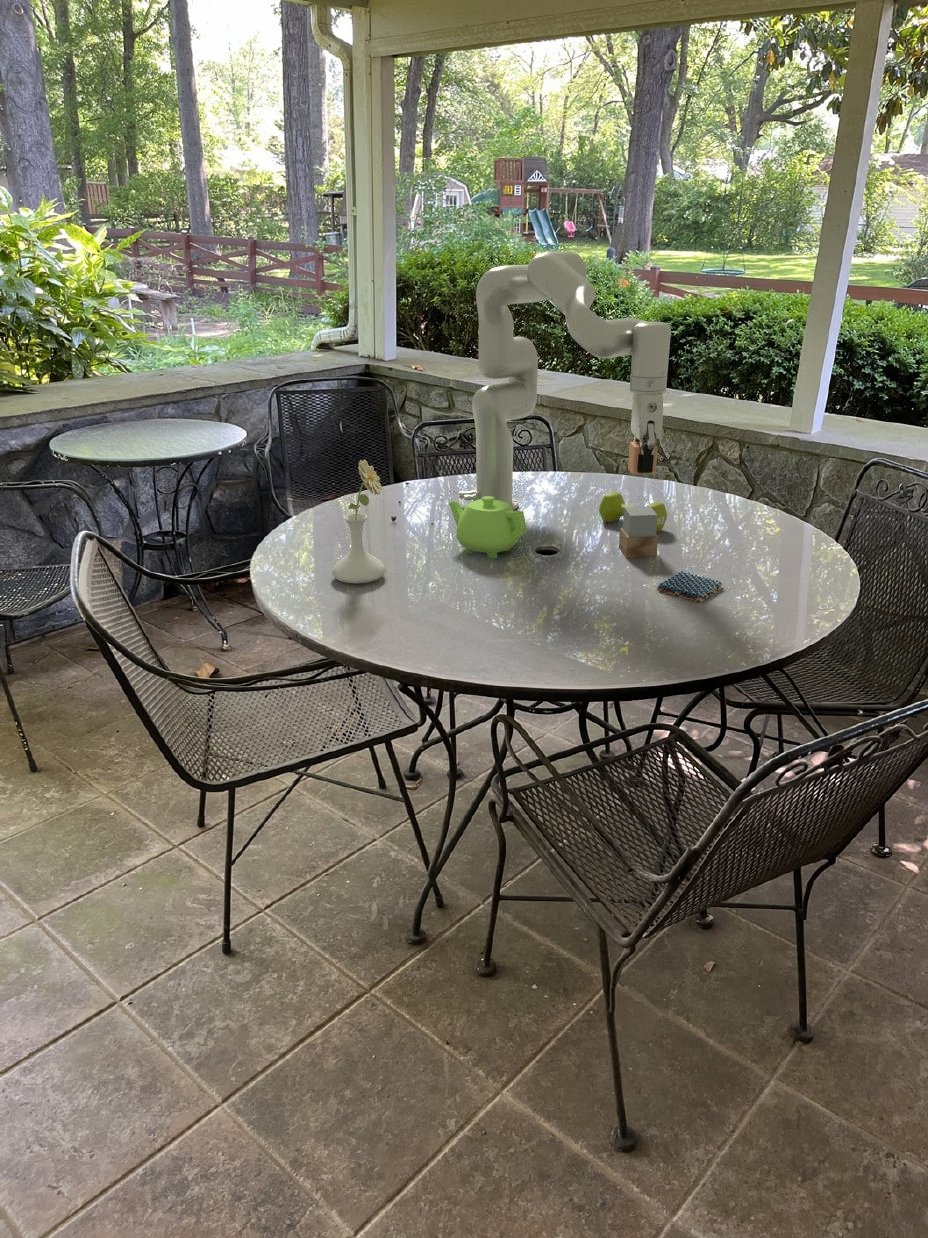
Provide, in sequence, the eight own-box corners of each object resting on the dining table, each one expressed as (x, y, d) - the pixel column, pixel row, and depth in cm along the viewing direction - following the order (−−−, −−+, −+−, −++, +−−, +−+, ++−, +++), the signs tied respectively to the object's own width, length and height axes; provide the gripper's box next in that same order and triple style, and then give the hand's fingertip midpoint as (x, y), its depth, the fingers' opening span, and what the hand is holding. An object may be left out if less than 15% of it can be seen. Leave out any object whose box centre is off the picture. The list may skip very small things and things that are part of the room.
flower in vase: (364, 592, 178) (356, 473, 168) (321, 581, 184) (311, 465, 173) (401, 572, 188) (396, 458, 178) (359, 562, 194) (352, 452, 183)
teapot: (435, 550, 201) (434, 497, 195) (467, 534, 211) (467, 483, 205) (509, 567, 190) (510, 512, 185) (539, 549, 200) (541, 496, 195)
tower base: (625, 558, 195) (627, 537, 193) (618, 548, 201) (620, 527, 199) (656, 558, 195) (658, 536, 193) (648, 547, 201) (650, 526, 199)
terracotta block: (632, 474, 188) (634, 447, 185) (627, 468, 192) (629, 441, 190) (655, 474, 188) (657, 446, 185) (650, 468, 192) (652, 441, 190)
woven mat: (725, 590, 179) (726, 581, 178) (700, 606, 172) (701, 596, 171) (679, 577, 185) (680, 568, 184) (654, 592, 178) (655, 583, 177)
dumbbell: (668, 530, 212) (671, 501, 209) (650, 537, 207) (652, 508, 204) (614, 515, 223) (616, 488, 220) (595, 522, 218) (596, 494, 215)
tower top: (628, 537, 193) (630, 515, 191) (622, 528, 198) (624, 507, 196) (655, 536, 193) (657, 514, 191) (648, 527, 199) (650, 506, 197)
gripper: (676, 390, 175) (668, 479, 182) (656, 377, 190) (649, 459, 198) (639, 391, 174) (632, 480, 182) (622, 377, 190) (617, 459, 197)
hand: (641, 468), depth 190 cm, fingers closed on terracotta block, 4 cm apart
